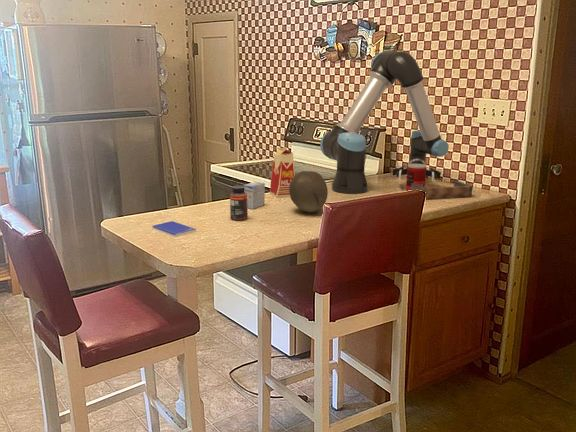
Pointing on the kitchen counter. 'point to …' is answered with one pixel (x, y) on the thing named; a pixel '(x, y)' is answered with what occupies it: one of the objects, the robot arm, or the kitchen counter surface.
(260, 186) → the medicine box
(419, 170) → the canned food
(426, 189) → the rail board
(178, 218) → the kitchen counter surface
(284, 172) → the milk carton
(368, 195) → the kitchen counter surface
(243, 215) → the supplement bottle
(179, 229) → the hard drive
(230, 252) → the kitchen counter surface
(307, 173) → the dark grey round ball
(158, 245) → the kitchen counter surface
